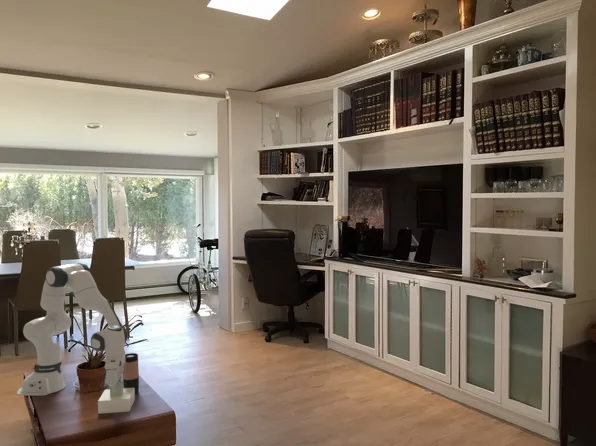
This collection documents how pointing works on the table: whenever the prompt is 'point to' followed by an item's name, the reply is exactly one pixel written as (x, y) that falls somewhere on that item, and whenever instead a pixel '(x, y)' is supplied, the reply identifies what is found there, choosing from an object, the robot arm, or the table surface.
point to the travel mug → (131, 372)
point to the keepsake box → (116, 401)
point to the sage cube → (119, 389)
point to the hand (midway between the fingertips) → (116, 387)
